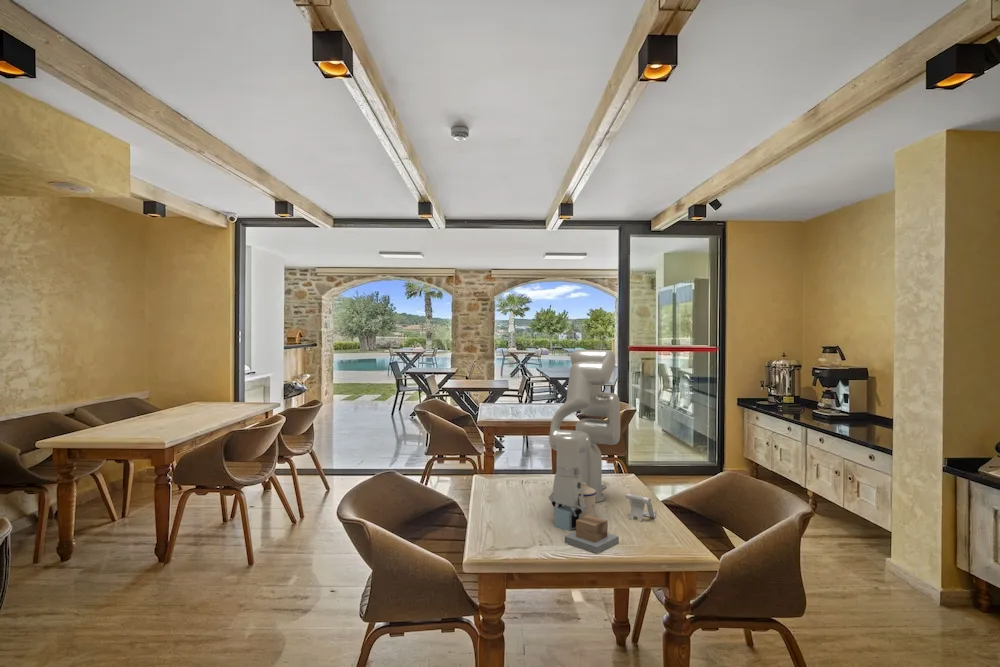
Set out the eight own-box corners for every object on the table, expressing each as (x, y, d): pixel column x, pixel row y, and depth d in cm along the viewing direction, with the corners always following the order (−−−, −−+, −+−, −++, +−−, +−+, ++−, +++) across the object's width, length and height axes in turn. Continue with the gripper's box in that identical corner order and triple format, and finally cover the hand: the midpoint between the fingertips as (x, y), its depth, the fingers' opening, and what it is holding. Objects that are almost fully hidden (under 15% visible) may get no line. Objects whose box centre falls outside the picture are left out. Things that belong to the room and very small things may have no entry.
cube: (565, 522, 182) (565, 504, 182) (579, 526, 178) (579, 508, 178) (554, 526, 178) (554, 508, 178) (568, 531, 174) (569, 512, 174)
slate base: (586, 532, 173) (586, 526, 173) (618, 542, 164) (618, 536, 164) (564, 542, 164) (564, 536, 164) (597, 553, 156) (597, 547, 156)
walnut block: (588, 530, 169) (588, 514, 169) (607, 536, 164) (607, 520, 164) (575, 536, 164) (576, 520, 164) (594, 542, 159) (594, 525, 159)
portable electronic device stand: (656, 517, 188) (656, 494, 188) (646, 523, 182) (646, 499, 182) (634, 512, 194) (634, 489, 194) (624, 517, 188) (624, 494, 188)
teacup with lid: (571, 510, 195) (571, 478, 195) (596, 512, 193) (596, 480, 193) (569, 521, 183) (569, 487, 183) (595, 523, 181) (595, 489, 182)
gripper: (595, 474, 175) (594, 528, 175) (554, 465, 187) (553, 515, 187) (582, 478, 170) (581, 534, 169) (541, 468, 182) (540, 520, 182)
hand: (567, 523), depth 178 cm, fingers closed on cube, 6 cm apart
